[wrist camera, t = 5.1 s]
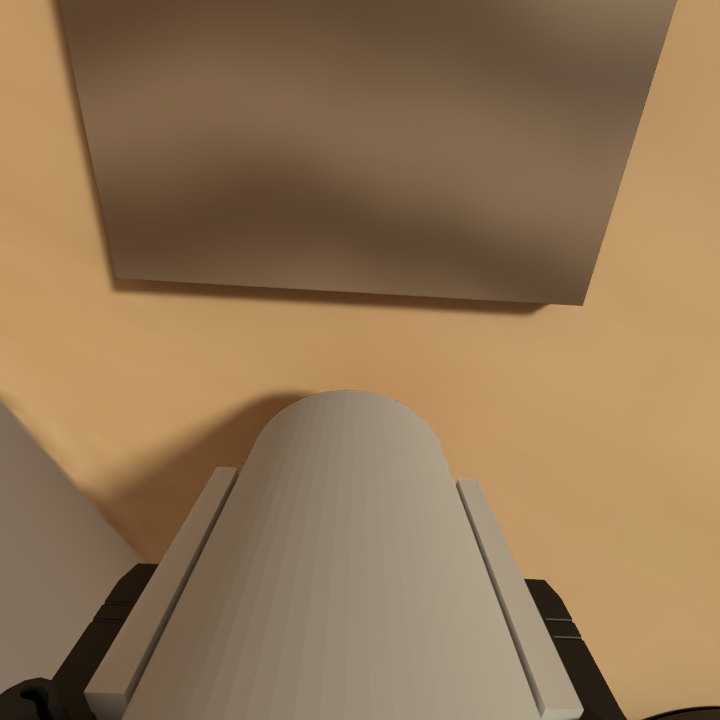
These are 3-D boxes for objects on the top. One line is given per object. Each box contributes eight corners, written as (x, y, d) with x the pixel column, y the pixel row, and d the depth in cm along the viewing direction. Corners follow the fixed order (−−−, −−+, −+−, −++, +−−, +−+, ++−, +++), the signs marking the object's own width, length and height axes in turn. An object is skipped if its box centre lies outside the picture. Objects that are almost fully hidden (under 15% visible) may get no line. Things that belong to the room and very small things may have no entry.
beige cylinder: (222, 510, 15) (-179, 1347, 4) (296, 354, 12) (-310, 1590, 1) (387, 571, 16) (444, 1320, 5) (485, 441, 14) (1039, 1407, 3)
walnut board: (561, 297, 15) (582, 305, 14) (139, 272, 14) (115, 278, 13) (736, -320, 9) (806, -420, 7) (18, -400, 8) (-50, -524, 7)
